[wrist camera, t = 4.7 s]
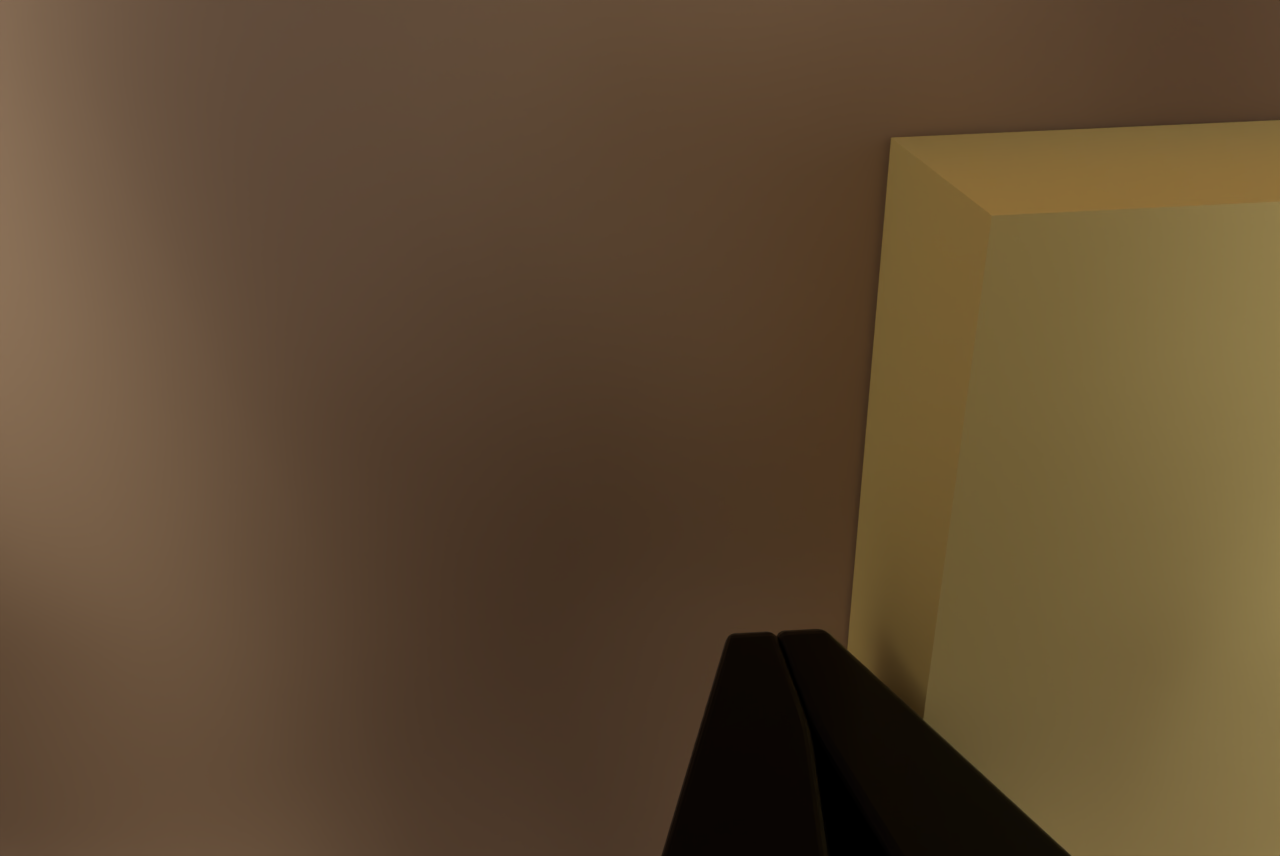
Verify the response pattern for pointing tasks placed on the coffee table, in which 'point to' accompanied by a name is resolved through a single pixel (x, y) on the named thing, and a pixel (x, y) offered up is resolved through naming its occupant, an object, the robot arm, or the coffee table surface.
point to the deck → (461, 384)
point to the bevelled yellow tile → (1084, 475)
